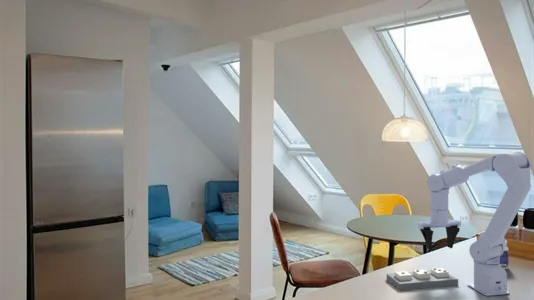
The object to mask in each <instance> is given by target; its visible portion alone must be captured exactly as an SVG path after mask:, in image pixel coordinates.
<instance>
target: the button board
mask: <svg viewBox="0 0 534 300" xmlns="http://www.w3.org/2000/svg"><path fill="white" fill-rule="evenodd" d="M426 271H427V272H429V273H430V278H428V279H417V278H416V277H414V276H413V271H407V272H408V273H410V274H411V275H412V280H404V281H399V280H398V279H397V278H395V272H393V273H386V280H387V281H388V282H389V283H391V284H392V285H393V286H394V287H395V286H396V287H395V288H396V289H398V290H400V291H405V290H418V289H430V288H441V287H452V286H453V287H454V286H459V279H458V278H457V277H455V276H453V275H452V274H450V273H449V277H440V278H437V277H435V276H433V275H432V274H431V269H430V270H429V269H428V270H426Z"/></svg>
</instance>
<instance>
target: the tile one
mask: <svg viewBox="0 0 534 300" xmlns="http://www.w3.org/2000/svg"><path fill="white" fill-rule="evenodd" d="M408 272H409V271H407V270H401V271H394V273H395V278H397V279H398V280H399V281H404V280H412V275H411V274H410V273H408Z"/></svg>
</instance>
